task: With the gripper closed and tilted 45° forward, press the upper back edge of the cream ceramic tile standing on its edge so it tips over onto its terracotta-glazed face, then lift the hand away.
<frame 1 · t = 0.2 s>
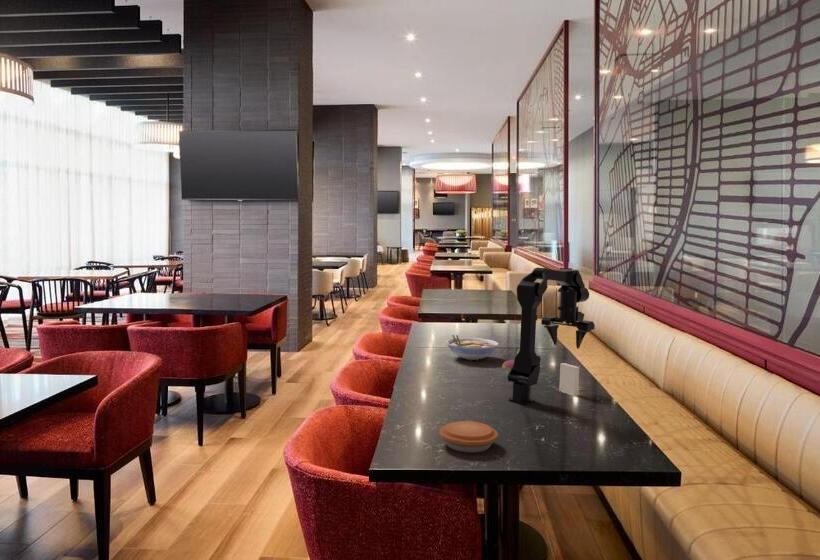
hand: (566, 346, 223), 15 cm above the table, tool pointing down, fingers open, 9 cm apart
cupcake: (512, 378, 235), on the table
pie: (468, 446, 162), on the table
tile: (568, 393, 215), on the table
ramen bowl: (471, 359, 268), on the table
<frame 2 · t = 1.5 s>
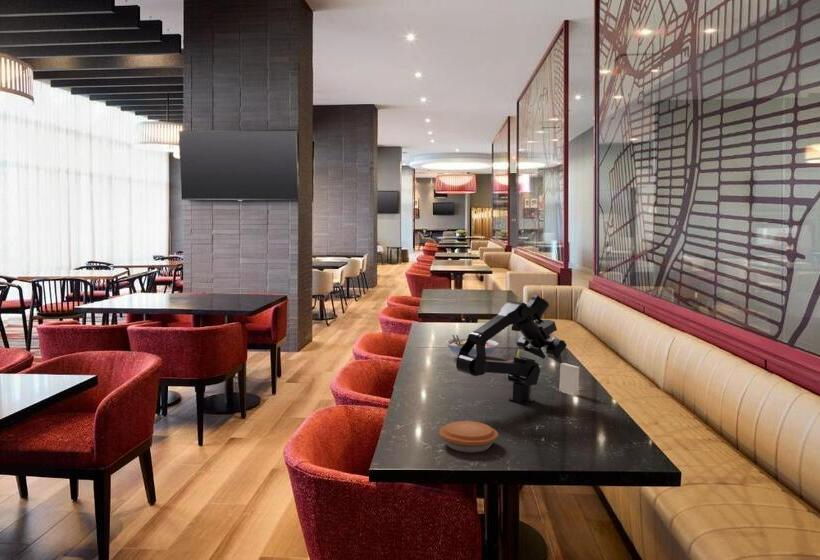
hand: (552, 360, 210), 12 cm above the table, tool tilted 45°, fingers open, 8 cm apart
nothing on the table moved.
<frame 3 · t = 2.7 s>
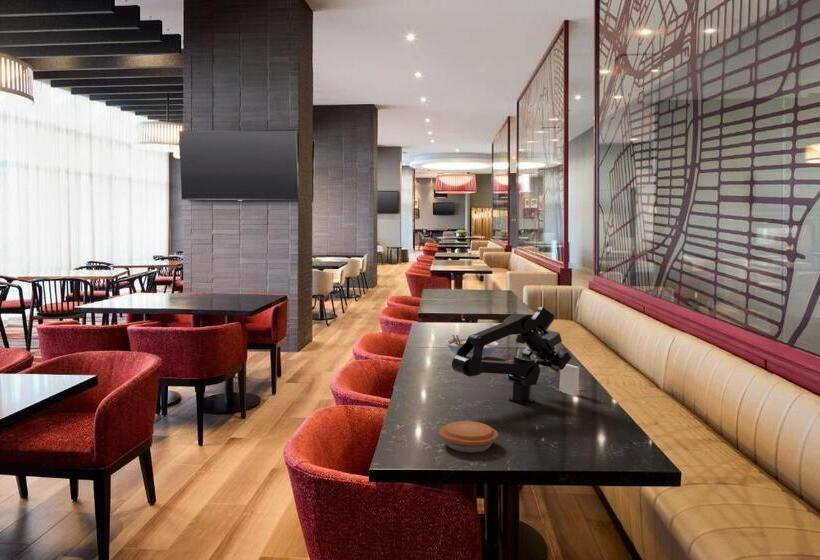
hand: (557, 371, 212), 8 cm above the table, tool tilted 45°, fingers closed
nothing on the table moved.
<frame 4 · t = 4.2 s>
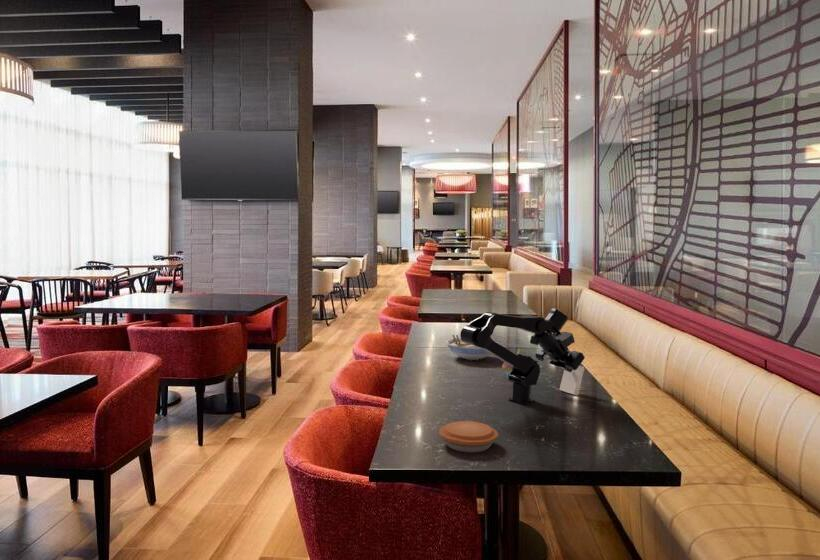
hand: (570, 371, 215), 8 cm above the table, tool tilted 45°, fingers closed
tile: (568, 392, 215), on the table, tilted 15°
everything else where it was.
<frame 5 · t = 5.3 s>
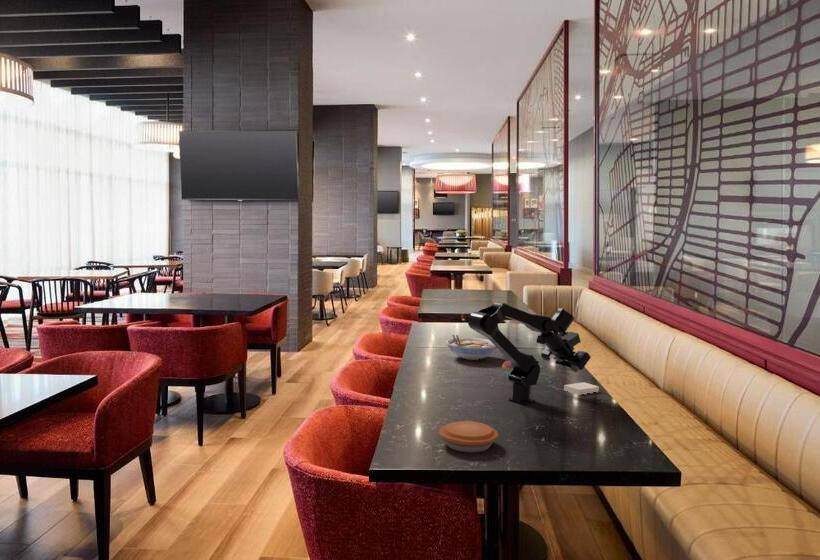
hand: (576, 371, 216), 8 cm above the table, tool tilted 45°, fingers closed
tile: (571, 390, 216), point 1 cm above the table, tilted 90°
everything else where it was.
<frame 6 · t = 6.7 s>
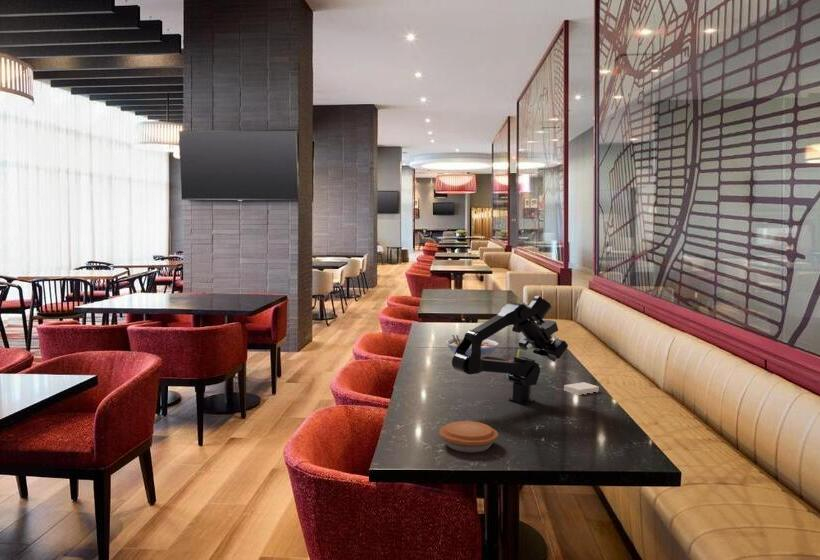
hand: (554, 360, 210), 12 cm above the table, tool tilted 45°, fingers closed
nothing on the table moved.
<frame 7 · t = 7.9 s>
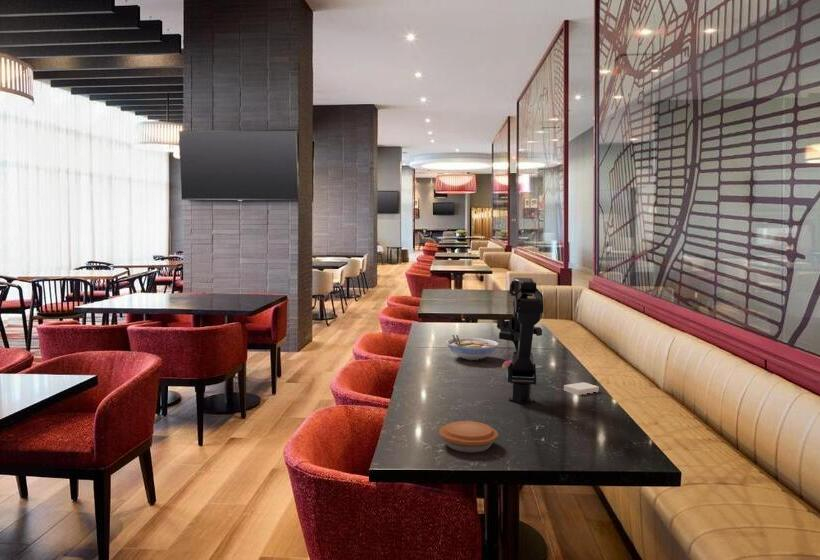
hand: (519, 357, 216), 12 cm above the table, tool pointing down, fingers closed
nothing on the table moved.
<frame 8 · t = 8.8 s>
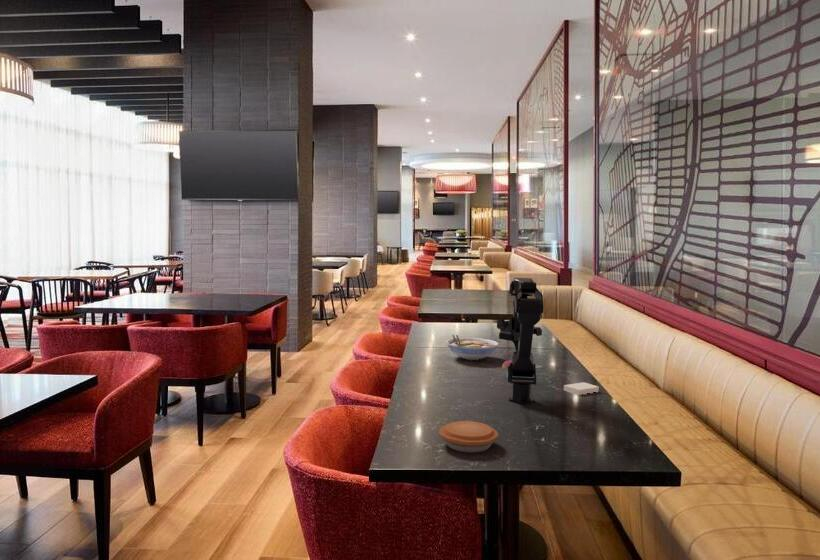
hand: (519, 357, 216), 12 cm above the table, tool pointing down, fingers closed
nothing on the table moved.
at the end: tile tilted 90°; tile inside the target area (0.6 cm from its centre), point 0.9 cm above the table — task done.
